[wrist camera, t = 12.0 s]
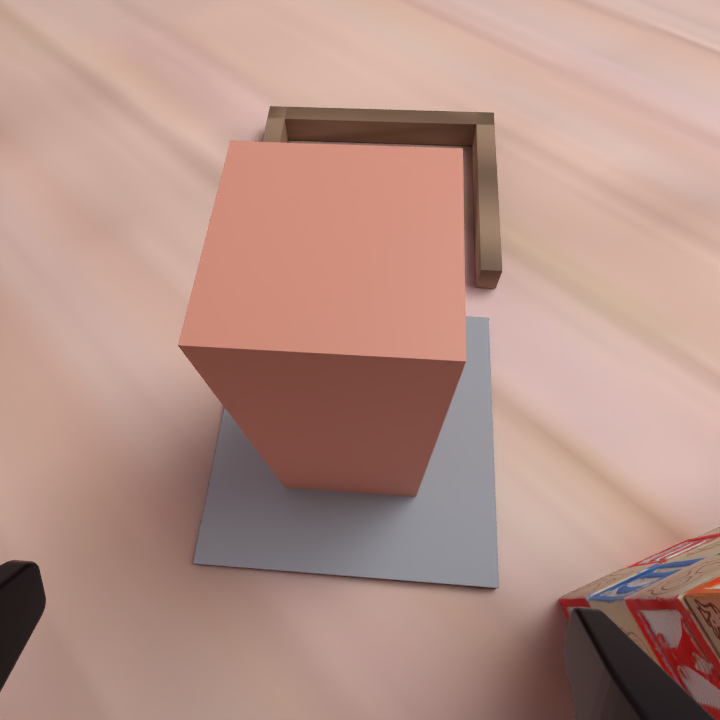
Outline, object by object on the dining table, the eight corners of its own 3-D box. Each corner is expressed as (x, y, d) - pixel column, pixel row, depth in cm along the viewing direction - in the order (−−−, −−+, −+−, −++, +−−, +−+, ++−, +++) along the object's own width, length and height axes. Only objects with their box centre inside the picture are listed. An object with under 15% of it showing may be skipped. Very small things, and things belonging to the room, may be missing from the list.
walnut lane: (495, 288, 26) (502, 270, 25) (243, 276, 27) (236, 258, 25) (488, 134, 31) (493, 112, 29) (274, 127, 32) (270, 106, 30)
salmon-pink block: (416, 496, 21) (466, 361, 10) (285, 487, 22) (178, 344, 10) (419, 375, 24) (462, 148, 12) (301, 368, 24) (230, 140, 12)
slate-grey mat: (496, 588, 20) (498, 587, 20) (196, 564, 21) (192, 563, 20) (486, 321, 25) (488, 317, 25) (246, 309, 26) (244, 305, 26)
